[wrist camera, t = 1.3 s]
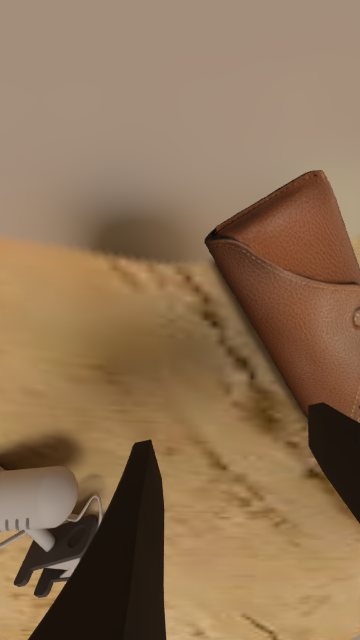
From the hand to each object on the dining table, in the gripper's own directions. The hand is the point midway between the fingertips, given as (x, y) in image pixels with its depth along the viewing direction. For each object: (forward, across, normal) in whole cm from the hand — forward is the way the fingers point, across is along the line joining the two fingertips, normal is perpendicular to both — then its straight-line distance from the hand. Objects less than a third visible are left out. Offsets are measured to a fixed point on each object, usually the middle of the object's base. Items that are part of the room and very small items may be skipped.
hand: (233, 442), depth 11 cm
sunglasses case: (+10, -9, 0) cm, 13 cm away
